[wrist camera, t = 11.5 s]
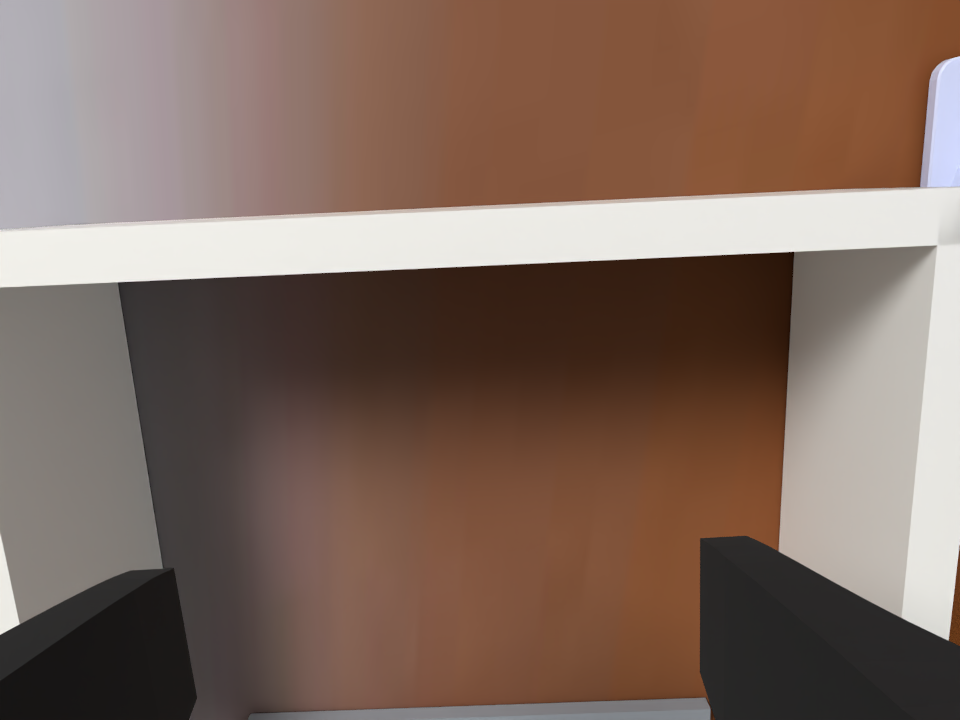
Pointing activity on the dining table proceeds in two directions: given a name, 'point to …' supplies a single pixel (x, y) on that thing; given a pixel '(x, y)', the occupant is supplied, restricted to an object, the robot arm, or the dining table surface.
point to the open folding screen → (504, 241)
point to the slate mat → (521, 712)
